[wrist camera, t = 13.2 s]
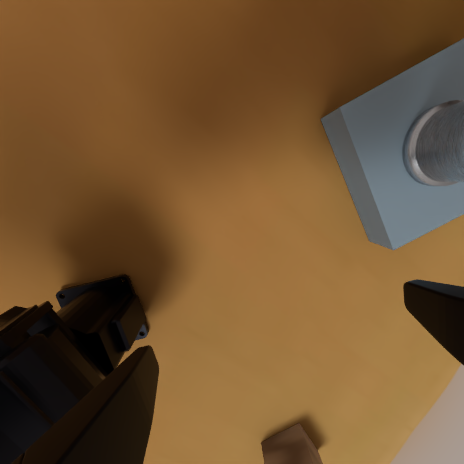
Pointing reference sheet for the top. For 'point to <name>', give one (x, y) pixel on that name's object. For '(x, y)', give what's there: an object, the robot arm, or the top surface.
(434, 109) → the glass shaker
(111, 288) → the robot arm
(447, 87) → the stand
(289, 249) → the top surface
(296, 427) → the offcut block
